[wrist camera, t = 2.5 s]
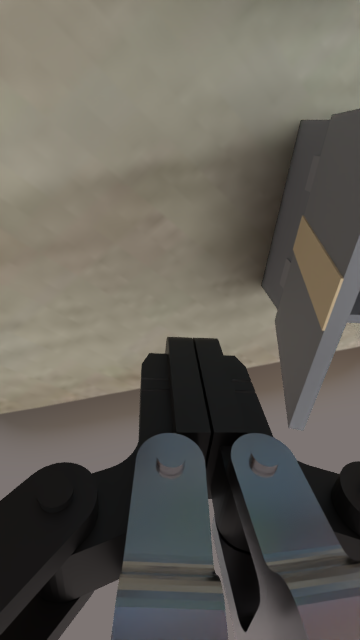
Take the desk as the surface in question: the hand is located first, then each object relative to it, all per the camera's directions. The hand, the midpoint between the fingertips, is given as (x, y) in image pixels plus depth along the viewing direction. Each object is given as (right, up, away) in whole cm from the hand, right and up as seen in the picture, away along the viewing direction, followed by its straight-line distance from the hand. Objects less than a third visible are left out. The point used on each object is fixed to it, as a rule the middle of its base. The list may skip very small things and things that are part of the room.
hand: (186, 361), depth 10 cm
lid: (+9, +5, +10) cm, 14 cm away
